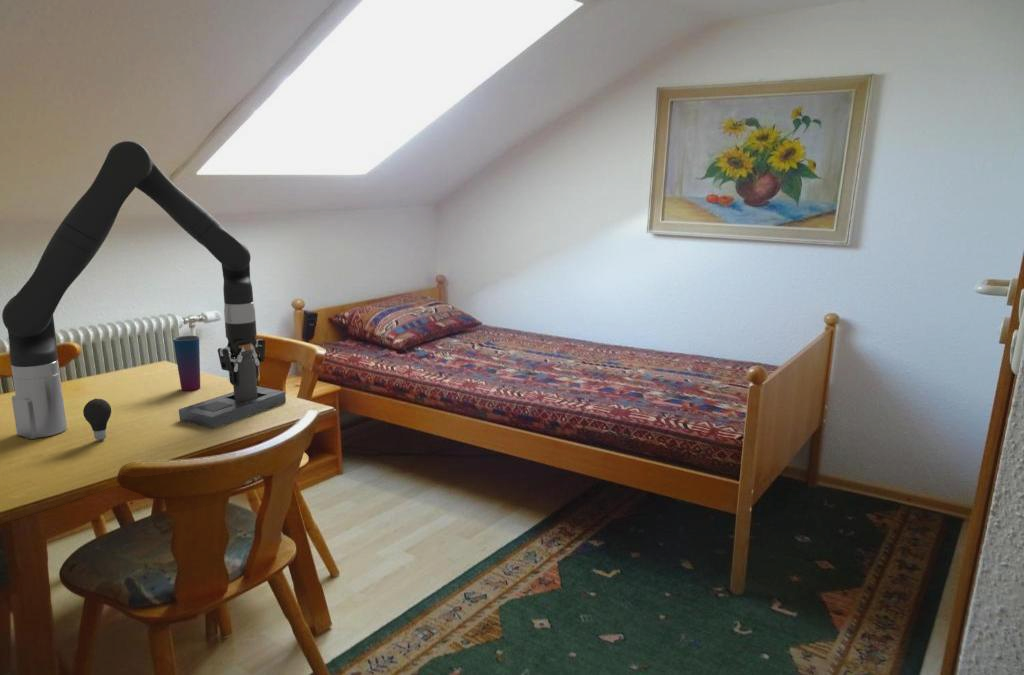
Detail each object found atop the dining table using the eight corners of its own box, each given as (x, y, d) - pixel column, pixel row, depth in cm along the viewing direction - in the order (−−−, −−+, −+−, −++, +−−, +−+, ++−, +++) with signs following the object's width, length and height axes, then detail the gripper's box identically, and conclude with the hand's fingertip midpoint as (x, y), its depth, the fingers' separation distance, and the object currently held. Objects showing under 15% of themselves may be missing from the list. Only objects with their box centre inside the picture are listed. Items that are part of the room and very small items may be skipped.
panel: (212, 428, 174) (211, 416, 174) (179, 420, 180) (178, 408, 179) (285, 402, 195) (285, 391, 195) (254, 395, 201) (253, 385, 200)
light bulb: (108, 434, 170) (103, 394, 168) (118, 440, 167) (114, 398, 164) (82, 440, 166) (77, 399, 164) (92, 446, 162) (87, 404, 160)
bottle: (229, 399, 189) (225, 344, 186) (246, 393, 194) (242, 339, 191) (245, 402, 187) (241, 347, 183) (262, 397, 192) (258, 342, 188)
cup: (172, 390, 205) (167, 339, 201) (189, 384, 211) (184, 334, 208) (192, 393, 203) (187, 341, 199) (208, 386, 209) (204, 336, 206)
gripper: (227, 325, 178) (233, 391, 182) (271, 316, 190) (275, 377, 194) (207, 322, 181) (212, 386, 185) (251, 313, 194) (255, 373, 197)
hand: (244, 381), depth 190 cm, fingers closed on bottle, 5 cm apart
